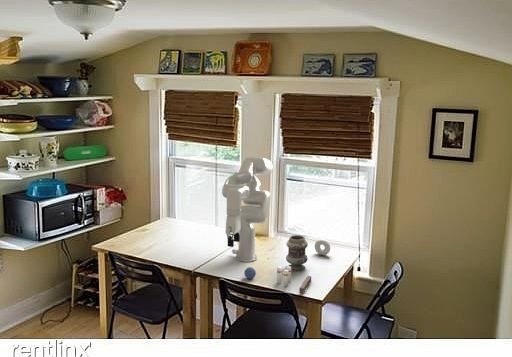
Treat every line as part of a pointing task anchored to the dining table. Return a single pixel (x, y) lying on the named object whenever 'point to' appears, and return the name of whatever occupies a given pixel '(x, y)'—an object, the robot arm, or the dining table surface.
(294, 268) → the grey brown vase
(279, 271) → the front pin
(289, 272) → the pin
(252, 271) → the ball
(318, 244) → the donut
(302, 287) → the grey brown bar
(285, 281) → the pin
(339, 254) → the dining table surface
